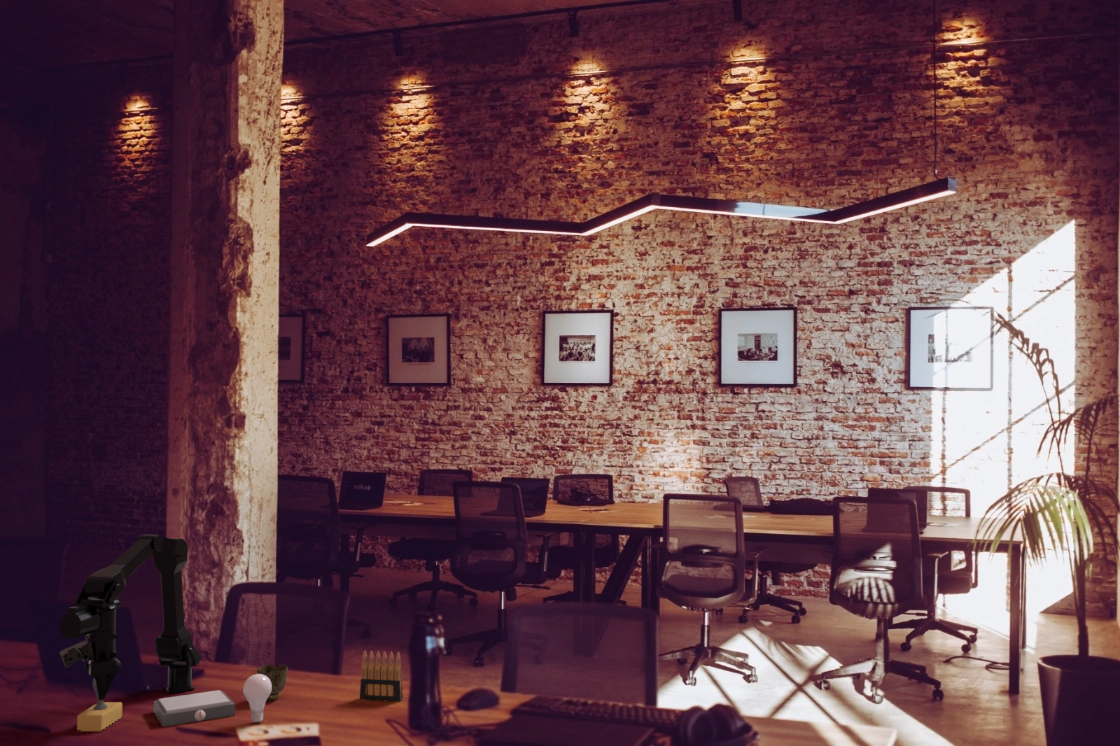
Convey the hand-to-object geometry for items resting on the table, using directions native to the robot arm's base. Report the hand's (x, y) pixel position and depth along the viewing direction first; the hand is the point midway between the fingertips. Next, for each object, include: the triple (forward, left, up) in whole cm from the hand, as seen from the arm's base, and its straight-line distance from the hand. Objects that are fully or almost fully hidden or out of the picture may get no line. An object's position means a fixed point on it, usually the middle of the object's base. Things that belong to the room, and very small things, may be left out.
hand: (100, 698), depth 219 cm
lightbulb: (+18, +31, -6) cm, 36 cm away
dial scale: (+3, +20, -6) cm, 21 cm away
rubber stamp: (0, 0, -6) cm, 6 cm away
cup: (+1, +39, -6) cm, 40 cm away
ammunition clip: (+16, +62, -6) cm, 64 cm away
